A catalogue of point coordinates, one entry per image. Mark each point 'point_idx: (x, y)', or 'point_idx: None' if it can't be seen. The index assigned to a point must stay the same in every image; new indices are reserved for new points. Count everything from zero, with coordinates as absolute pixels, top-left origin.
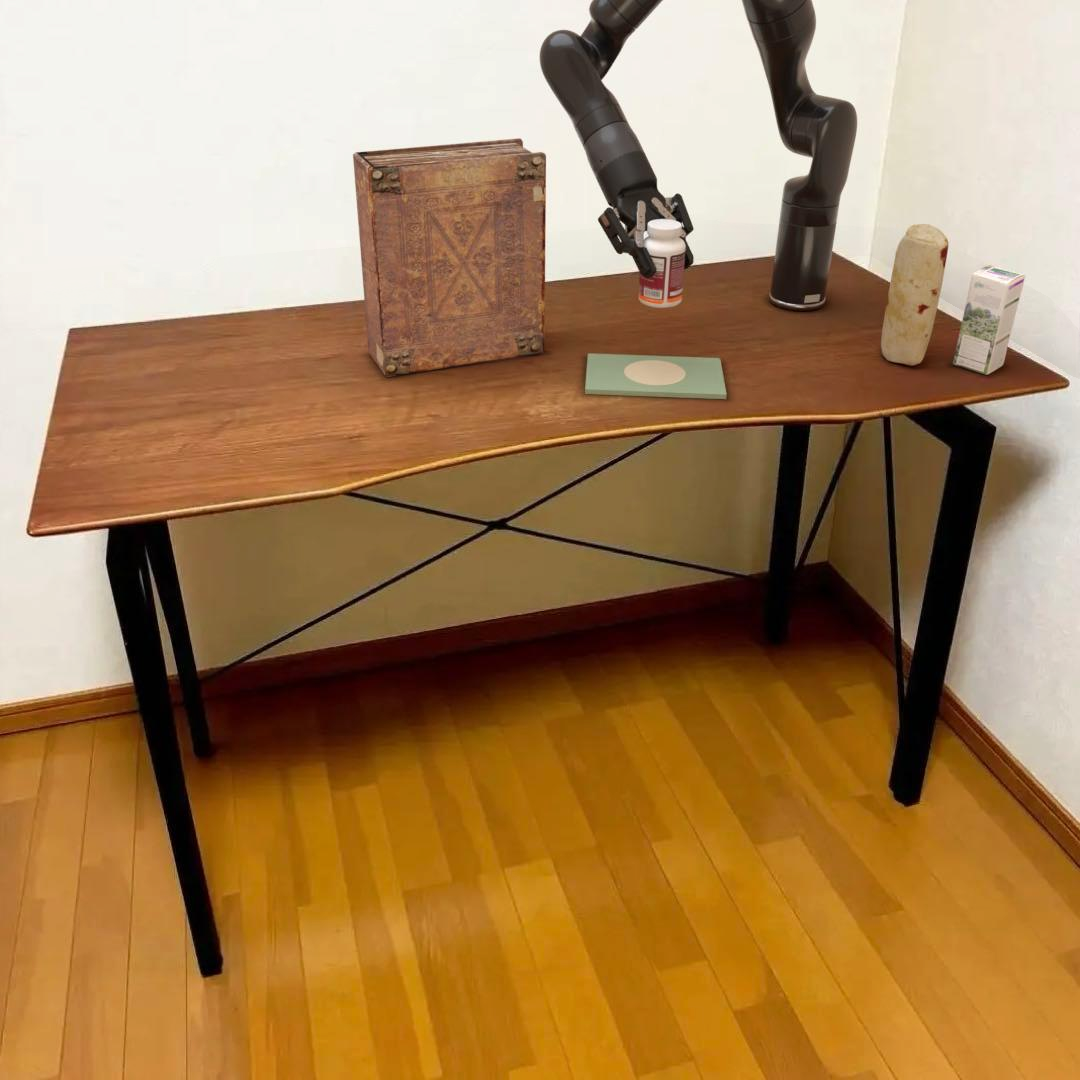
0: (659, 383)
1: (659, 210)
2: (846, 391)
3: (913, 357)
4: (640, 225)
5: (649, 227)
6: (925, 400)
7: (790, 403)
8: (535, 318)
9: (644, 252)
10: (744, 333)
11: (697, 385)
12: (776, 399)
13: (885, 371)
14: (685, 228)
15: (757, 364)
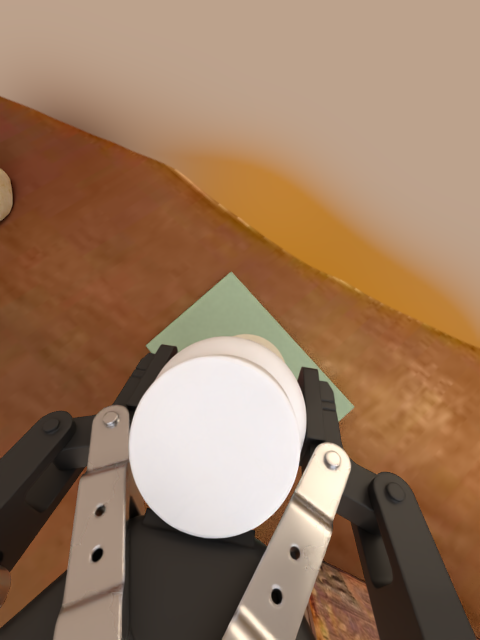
0: (268, 347)
1: (119, 578)
2: (116, 197)
3: (3, 172)
4: (310, 533)
5: (294, 477)
6: (81, 133)
7: (187, 219)
8: (327, 612)
9: (323, 423)
10: (43, 384)
11: (236, 311)
12: (189, 235)
13: (39, 199)
14: (69, 435)
15: (119, 310)
